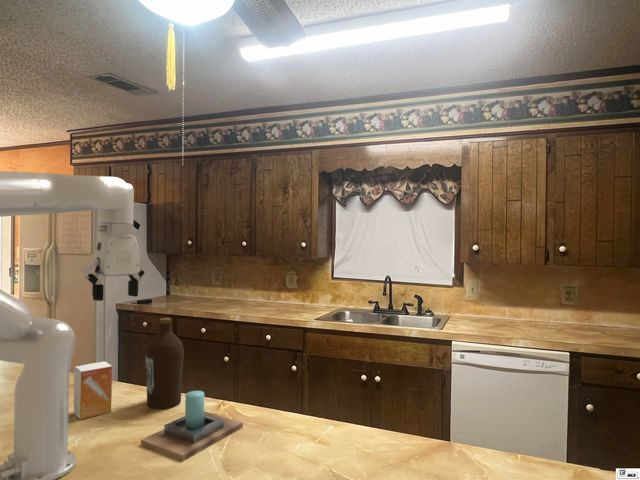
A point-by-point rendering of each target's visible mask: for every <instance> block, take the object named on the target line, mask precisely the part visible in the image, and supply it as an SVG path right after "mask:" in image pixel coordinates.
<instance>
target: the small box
mask: <svg viewBox="0 0 640 480" xmlns="http://www.w3.org/2000/svg"><path fill="white" fill-rule="evenodd" d="M73 373H74V375H73V376H74V377H73V379H74V380H73V383H74V384H73V413H74V415H76V417H77V418H78V419H79V420H83V419H88V418H92V417H95V416H100V415H105V414H109V413H111V412H112V396H113V395H112V393H113V392H112V391H113V390H112V387H113V365H111V364H109V363H108V362H107V361H100V362H93V363H86V364H82V365H77V366H74V372H73Z"/></svg>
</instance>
